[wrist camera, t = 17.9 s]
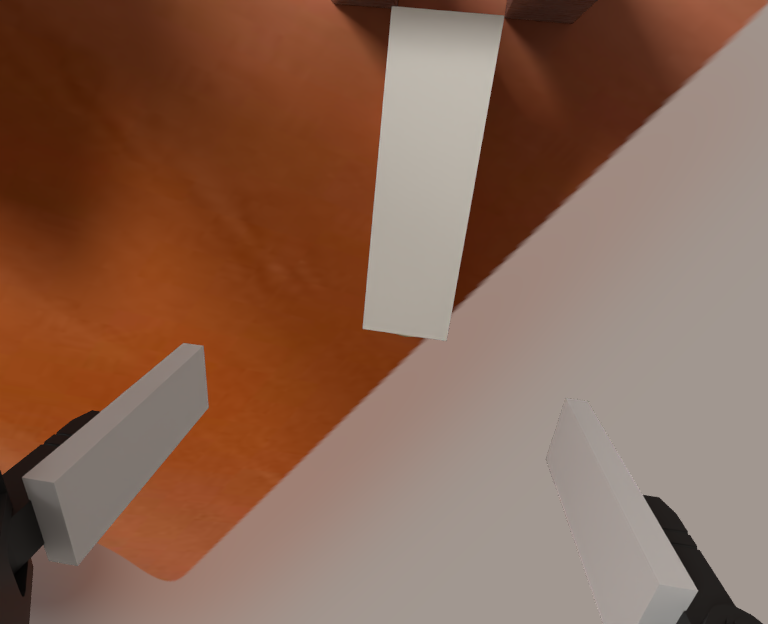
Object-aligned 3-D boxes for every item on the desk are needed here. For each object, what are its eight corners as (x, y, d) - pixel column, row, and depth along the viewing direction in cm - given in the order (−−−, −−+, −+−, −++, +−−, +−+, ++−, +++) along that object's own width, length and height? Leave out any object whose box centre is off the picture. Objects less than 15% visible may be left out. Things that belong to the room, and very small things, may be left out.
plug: (379, 308, 33) (359, 358, 26) (406, 46, 27) (391, 5, 19) (441, 317, 33) (441, 370, 25) (485, 53, 26) (504, 15, 18)
